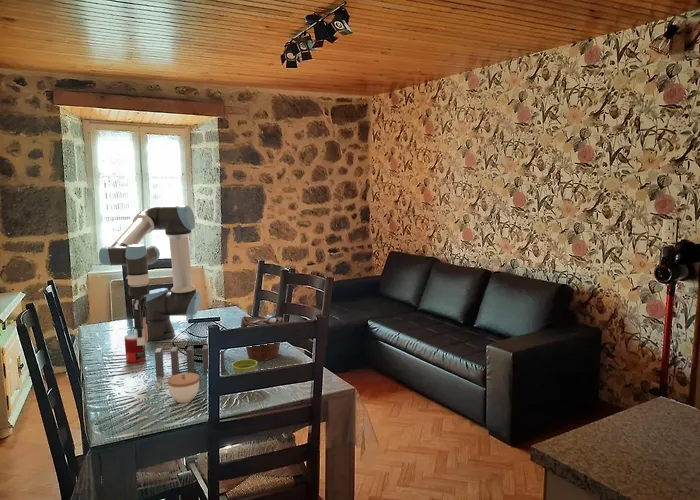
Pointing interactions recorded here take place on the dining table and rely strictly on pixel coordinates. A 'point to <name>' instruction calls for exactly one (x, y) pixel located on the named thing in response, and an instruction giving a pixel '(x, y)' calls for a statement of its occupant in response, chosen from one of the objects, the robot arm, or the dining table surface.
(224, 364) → the domino
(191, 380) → the lidded jar
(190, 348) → the domino
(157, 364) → the domino
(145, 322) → the domino
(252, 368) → the plant pot
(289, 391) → the dining table surface
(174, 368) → the domino
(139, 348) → the canned food
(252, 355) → the brown basket
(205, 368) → the domino
